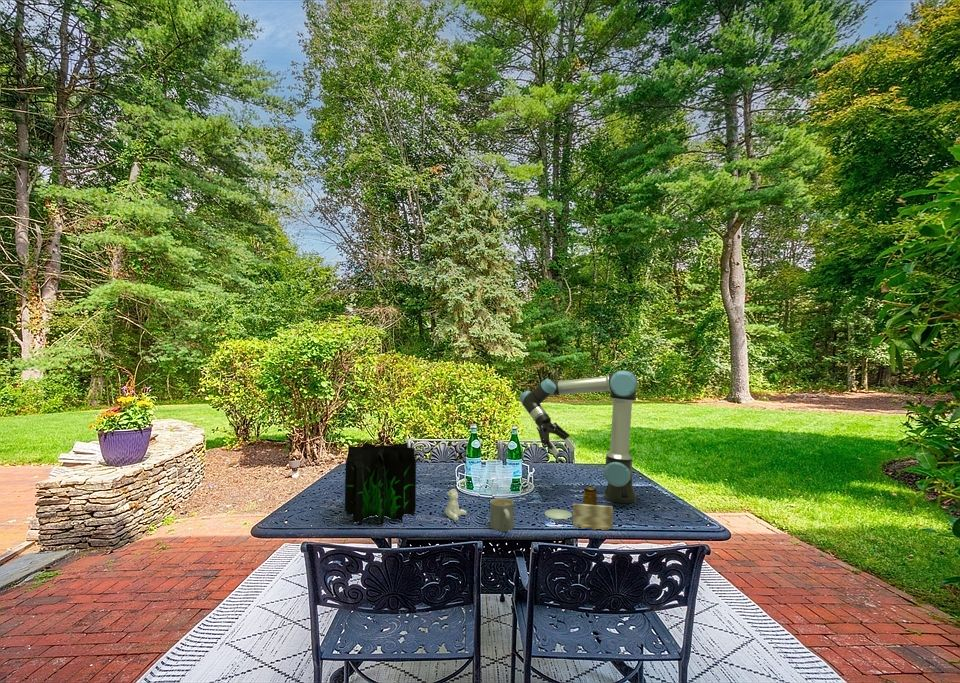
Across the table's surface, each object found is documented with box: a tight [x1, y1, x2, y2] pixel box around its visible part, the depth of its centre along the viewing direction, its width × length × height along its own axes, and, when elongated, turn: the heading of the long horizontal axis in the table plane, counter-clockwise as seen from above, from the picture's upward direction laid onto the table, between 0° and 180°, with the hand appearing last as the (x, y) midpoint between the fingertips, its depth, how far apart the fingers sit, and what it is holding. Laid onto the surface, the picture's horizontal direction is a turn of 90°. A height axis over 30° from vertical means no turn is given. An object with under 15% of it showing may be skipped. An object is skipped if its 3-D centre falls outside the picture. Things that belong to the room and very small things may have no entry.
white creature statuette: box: [444, 488, 467, 522], centre depth 193 cm, size 10×9×12 cm
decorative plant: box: [344, 441, 417, 525], centre depth 196 cm, size 29×30×30 cm
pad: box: [544, 508, 573, 520], centre depth 195 cm, size 12×12×1 cm
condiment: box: [582, 486, 598, 505], centre depth 194 cm, size 7×8×12 cm
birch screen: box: [572, 503, 614, 531], centre depth 181 cm, size 16×4×9 cm, turn 78°
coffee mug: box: [489, 497, 515, 532], centre depth 180 cm, size 13×10×10 cm
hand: (565, 452), depth 208 cm, fingers open, 13 cm apart
